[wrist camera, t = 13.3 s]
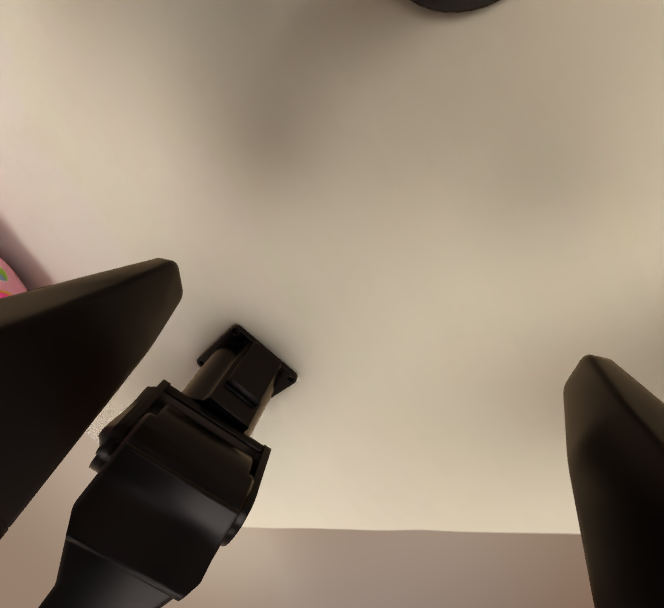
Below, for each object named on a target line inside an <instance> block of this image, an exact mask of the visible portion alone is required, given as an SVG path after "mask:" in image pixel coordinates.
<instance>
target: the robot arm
mask: <svg viewBox="0 0 664 608" xmlns="http://www.w3.org/2000/svg"><path fill="white" fill-rule="evenodd" d="M182 294H183V289H182V284H181V278H180V273H179V268H178V265H177V264H176V263H175V262H174V261H171V260H167V259H162V258H156V259H152V260H148V261H144V262H140V263H136V264H132V265H128V266H124V267H121V268H117V269H113V270H109V271H105V272H101V273H97V274H93V275H89V276H85V277H81V278H77V279H73V280H70V281H66V282H62V283H58V284H54V285H50V286H46V287H42V288H38V289H34V290H30V291H26V292H22V293H19V294H15V295H11V296H7V297H3V298H0V539H1V538H2V537H3V536H4V534H5V533H6V532H7V530H8V527H10V526H11V525H12V524H13V522H14V521H15V520H16V518H17V517H18V516H19V515H20V514H21V512H22V511H23V510H24V508H25V507H26V506H27V505H28V503H29V502H30V501H31V500H32V498H33V497H34V496H35V494H36V493H37V492H38V491H39V489H40V488H41V487H42V486H43V484H44V483H45V482H46V480H47V479H48V478H49V477H50V475H51V474H52V473H53V472H54V470H55V469H56V468H57V466H58V465H59V464H60V463H61V461H62V460H63V459H64V458H65V456H66V455H67V454H68V452H69V451H70V450H71V449H72V447H73V446H74V445H75V444H76V442H77V441H78V440H79V438H80V437H81V436H82V435H83V433H84V432H85V431H86V430H87V428H88V427H89V426H90V425H91V423H92V422H93V421H94V419H95V418H96V417H97V416H98V414H99V413H100V412H101V411H102V409H103V408H104V407H105V405H106V404H107V403H108V402H109V400H110V399H111V398H112V397H113V395H114V394H115V393H116V392H117V390H118V389H119V388H120V386H121V385H122V384H123V383H124V381H125V380H126V379H127V378H128V376H129V375H130V374H131V372H132V371H133V370H134V369H135V367H136V366H137V365H138V364H139V362H140V361H141V360H142V358H143V357H144V356H145V355H146V353H147V352H148V351H149V349H150V348H151V346H152V345H153V343H154V342H155V340H156V339H157V337H158V335H159V334H160V332H161V331H162V329H163V328H164V326H165V324H166V323H167V321H168V320H169V318H170V316H171V315H172V313H173V312H174V310H175V308H176V307H177V305H178V304H179V302H180V300H181V298H182ZM197 364H198V365H199V366H200V367H201V369H200V370H199V371H198V372H197V374H196V375H195V376H194V378H193V379H192V380H191V381H190V383H189V384H188V385H187V386H186V388H185V389H184V390H183V392H180V391H179V390H177V389H176V388H174V387H173V386H171V383H169V382H167V381H166V380H163V381H162V382H161V383H160V384H159V385H158V386H156V387H154V386H153V387H147V388H146V389H145V390H144V391H143V392H142V393H141V394H140V395H139V396H138V398H137V399H136V400H135V401H134V402H133V403H132V404H131V405H130V406H129V407H128V408H127V409H125V410H124V411H123V412H122V413H121V414H119V415H118V416H117V417H116V418H115V419H114V420H112V421H111V422H110V423H109V424H108V425H107V426H105V427H104V429H103V430H102V431H101V432H100V434H99V444H100V447H99V448H98V450H97V451H96V454H97V455H96V456H95V458H94V459H93V461H92V462H91V464H90V466H89V468H91V469H93V470H94V471H96V472H98V474H97V475H96V476H95V478H94V479H93V480H92V481H91V483H90V484H89V485H88V486H87V488H86V489H85V490H84V491H83V493H82V494H81V495H80V496H79V498H78V499H77V500H76V502H75V504H74V505H73V508H72V511H71V516H70V521H69V525H68V529H67V533H66V539H65V543H64V548H63V553H62V557H61V562H60V567H59V571H58V575H57V580H56V583H55V586H54V587H53V589H52V590H51V591H50V593H49V594H48V595H47V597H46V598H45V599H44V601H43V602H42V603H41V605H40V606H39V608H161V607H163V606H164V605H165V604H167V603H168V602H169V601H170V600H172V599H175V600H177V601H180V600H181V599H183V598H184V597H185V596H186V595H188V594H189V593H190V592H191V591H192V590H193V589H194V588H196V587H197V586H198V585H199V584H200V582H201V581H202V579H203V576H204V574H205V573H206V571H207V569H208V567H209V565H210V563H211V561H212V559H213V557H214V555H215V554H216V552H217V550H218V549H219V547H220V545H221V546H226V545H227V544H228V543H229V542H230V541H231V540H232V539H233V538H234V536H235V535H236V534H237V532H238V531H239V529H240V528H241V526H242V525H243V523H244V521H245V520H246V518H247V516H248V514H249V512H250V510H251V508H252V506H253V504H254V501H255V499H256V496H257V493H258V489H259V486H260V483H261V480H262V477H263V474H264V471H265V467H266V464H267V461H268V458H269V455H270V452H271V449H270V448H269V447H267V446H266V445H264V446H263V445H262V444H260V443H259V442H257V441H256V440H254V439H253V438H251V437H250V435H251V434H252V432H253V430H254V428H255V426H256V424H257V422H258V420H259V418H260V416H261V415H262V413H263V411H264V409H265V407H266V405H267V403H268V401H269V399H270V398H272V397H273V396H275V395H276V394H278V393H279V392H281V391H283V390H284V389H286V388H287V387H289V386H290V385H292V384H294V383H295V382H296V380H297V377H298V376H297V374H296V373H295V372H294V371H293V370H292V369H290V368H289V367H288V366H287V365H286V364H285V363H283V362H282V361H281V360H280V359H279V358H278V357H276V356H275V355H274V354H273V353H272V352H270V351H269V350H268V349H267V348H266V347H265V346H263V345H262V344H261V343H260V342H259V341H258V340H256V339H255V338H254V337H253V336H252V335H251V334H249V333H248V332H247V331H246V330H245V329H244V328H242V327H241V326H240V325H233V326H232V327H231V328H230V329H229V330H227V331H226V332H225V333H224V334H223V335H222V336H221V337H220V338H219V339H218V340H217V341H216V342H215V343H213V344H212V345H211V346H210V347H209V348H208V349H207V350H206V351H205V352H204V353H203V354H202V355H201V356H200V357H199V358H198V359H197ZM564 411H565V428H566V445H567V458H568V466H569V473H570V478H571V484H572V489H573V494H574V500H575V505H576V510H577V516H578V521H579V527H580V532H581V537H582V543H583V547H584V553H585V559H586V564H587V569H588V574H589V580H590V585H591V591H592V596H593V601H594V607H595V608H664V403H663V402H662V401H660V400H659V399H658V398H657V397H656V396H654V395H653V394H652V393H651V392H649V391H648V390H647V389H646V388H645V387H643V386H642V385H641V384H640V383H639V382H637V381H636V380H635V379H634V378H633V377H631V376H630V375H629V374H628V373H627V372H625V371H624V370H623V369H622V368H621V367H619V366H618V365H617V364H616V363H615V362H613V361H612V360H610V359H608V358H603V357H599V356H594V355H586V356H584V357H583V358H582V359H581V360H580V362H579V363H578V365H577V366H576V368H575V369H574V371H573V372H572V374H571V375H570V377H569V378H568V380H567V382H566V384H565V386H564Z"/></svg>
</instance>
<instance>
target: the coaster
mask: <svg viewBox="0 0 664 608" xmlns="http://www.w3.org/2000/svg"><path fill="white" fill-rule="evenodd" d="M411 1H412V2H414V3H416V4H418V5H419V6H422V7H425V8H428V9H430V10H434V11H440V12H455V13H459V12H465V11H472V10H476V9H479V8H482V7H486V6H488V5H491V4H493V3H495V2H497V1H499V0H411Z"/></svg>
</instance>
